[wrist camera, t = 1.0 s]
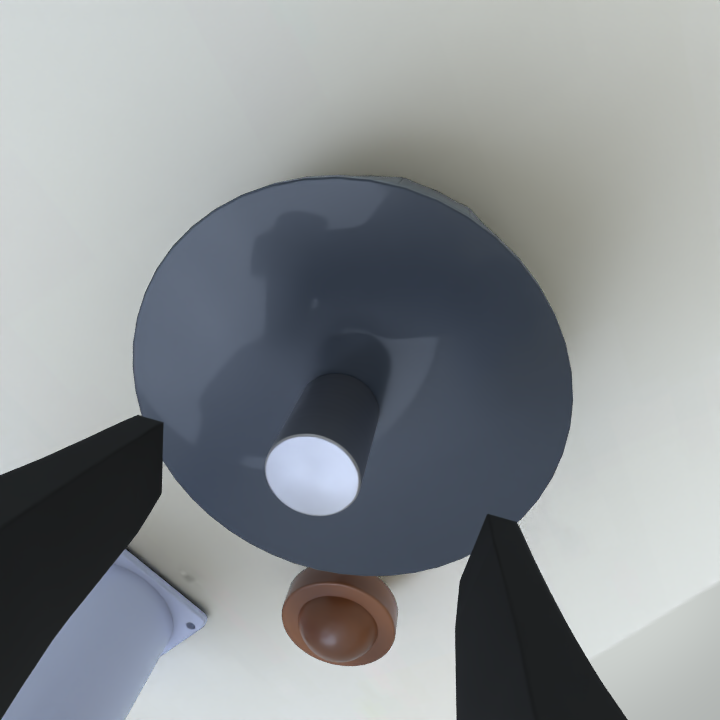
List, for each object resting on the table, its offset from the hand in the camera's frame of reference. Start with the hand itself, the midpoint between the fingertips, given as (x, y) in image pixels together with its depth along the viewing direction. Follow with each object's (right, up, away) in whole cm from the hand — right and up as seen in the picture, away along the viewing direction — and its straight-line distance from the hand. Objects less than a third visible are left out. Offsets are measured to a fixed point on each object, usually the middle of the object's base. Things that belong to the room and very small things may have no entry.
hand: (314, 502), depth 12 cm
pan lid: (+1, +2, +5) cm, 5 cm away
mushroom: (+1, -7, +15) cm, 16 cm away
